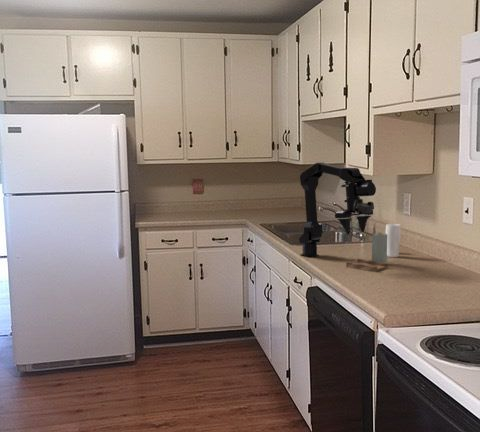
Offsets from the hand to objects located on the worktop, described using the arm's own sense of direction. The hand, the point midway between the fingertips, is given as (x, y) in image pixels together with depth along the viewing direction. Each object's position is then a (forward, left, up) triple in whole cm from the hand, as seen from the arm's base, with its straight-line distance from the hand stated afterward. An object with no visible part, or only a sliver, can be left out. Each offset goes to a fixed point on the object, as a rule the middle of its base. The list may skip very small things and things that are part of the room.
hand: (355, 233), depth 234 cm
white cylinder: (-3, +28, -14) cm, 32 cm away
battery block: (+4, +11, -14) cm, 18 cm away
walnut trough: (+6, +1, -14) cm, 15 cm away
